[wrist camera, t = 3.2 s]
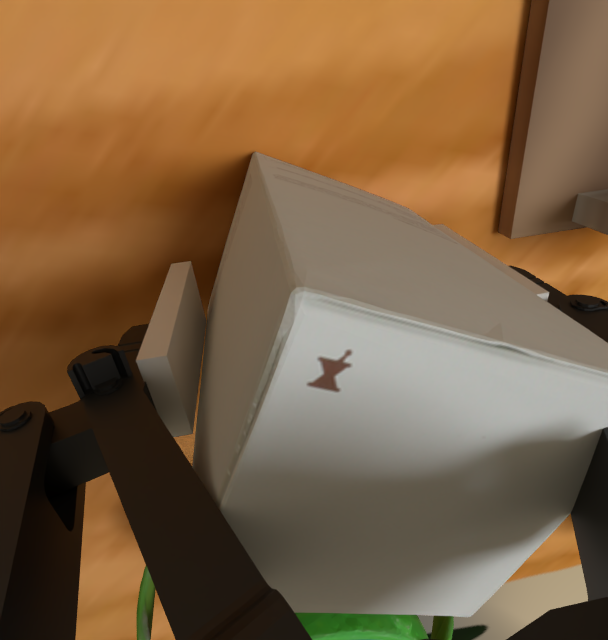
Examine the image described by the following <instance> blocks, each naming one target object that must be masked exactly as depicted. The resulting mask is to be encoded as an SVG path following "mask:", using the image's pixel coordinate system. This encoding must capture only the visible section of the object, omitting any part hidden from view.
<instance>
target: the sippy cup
mask: <svg viewBox="0 0 608 640" xmlns="http://www.w3.org/2000/svg"><path fill="white" fill-rule="evenodd" d="M154 598H155V586H154V583H153V581H152V578H151V576H150V573H149V571H148V568H147V566H146V567H145V569H144V573H143V578H142V581H141V585H140V591H139V598H138V605H137V640H150V639H151V629H152V619H153V608H154ZM295 614H296V616H297V617H298V619H299V620H300V622H301V623H302V625H303V626H304V628H305V629H306V631H307V632H308V634H309V635H310V637H311V638H312V640H422V639H428V636H427V634H426V631H425V629H424V627H423V625H422V623H421V621H420V620H419V618H418V616H417V615H396V614H349V613H295ZM453 626H454V621H453V616H434V619H433V627H432V635H431V639H436V640H451V639H452V633H453Z"/></svg>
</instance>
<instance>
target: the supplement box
mask: <svg viewBox="0 0 608 640" xmlns="http://www.w3.org/2000/svg"><path fill="white" fill-rule="evenodd" d="M606 427H608V343H607V342H605V341H604V340H603V339H601V338H600V337H598V336H597V335H595V334H594V333H592V332H591V331H590V330H588V329H587V328H585V327H584V326H582V325H581V324H579V323H578V322H576V321H575V320H573V319H572V318H570V317H569V316H567V315H566V314H564V313H563V312H561V311H560V310H558V309H557V308H555V307H554V306H553V305H551V304H550V303H548V302H547V301H545V300H544V299H542V298H541V297H539V296H537V295H536V294H534V293H533V292H531V291H530V290H528V289H527V288H525V287H524V286H522V285H521V284H519V283H518V282H516V281H515V280H513V279H512V278H510V277H509V276H507V275H506V274H504V273H503V272H501V271H500V270H498V269H497V268H495V267H494V266H493V265H491V264H490V263H488V262H487V261H485V260H484V259H482V258H481V257H479V256H478V255H476V254H475V253H473V252H472V251H470V250H469V249H467V248H466V247H464V246H463V245H461V244H460V243H458V242H457V241H455V240H454V239H452V238H451V237H449V236H448V235H446V234H445V233H443V232H442V231H440V230H439V229H437V228H436V227H434V226H433V225H432V224H430V223H429V222H427V221H426V220H425V219H423V218H422V217H420V216H419V215H417V214H416V213H415V212H413V211H412V210H410V209H409V208H406V207H404V206H402V205H399V204H397V203H394V202H392V201H389V200H387V199H384V198H382V197H379V196H376V195H374V194H371V193H368V192H366V191H363V190H361V189H358V188H355V187H353V186H350V185H347V184H345V183H342V182H339V181H336V180H333V179H331V178H328V177H325V176H322V175H319V174H316V173H314V172H311V171H308V170H305V169H303V168H300V167H297V166H294V165H292V164H289V163H286V162H283V161H281V160H278V159H275V158H272V157H269V156H266V155H264V154H261V153H258V152H254V153H253V155H252V158H251V161H250V164H249V168H248V171H247V174H246V178H245V181H244V185H243V188H242V192H241V195H240V198H239V201H238V205H237V208H236V211H235V215H234V218H233V221H232V224H231V227H230V231H229V234H228V237H227V241H226V244H225V248H224V251H223V255H222V259H221V262H220V266H219V269H218V273H217V276H216V280H215V283H214V287H213V291H212V294H211V298H210V302H209V305H208V314H207V326H206V337H205V347H204V356H203V367H202V378H201V388H200V398H199V406H198V415H197V425H196V435H195V445H194V456H193V466H192V468H193V469H194V471H195V472H196V474H197V475H198V477H199V478H200V480H201V482H202V483H203V485H204V486H205V488H206V489H207V491H208V492H209V494H210V496H211V497H212V499H213V500H214V502H215V503H216V505H217V506H218V508H219V510H220V511H221V513H222V514H223V516H224V517H225V519H226V520H227V522H228V524H229V525H230V527H231V528H232V530H233V531H234V533H235V534H236V536H237V538H238V539H239V541H240V542H241V544H242V545H243V547H244V548H245V550H246V552H247V553H248V555H249V556H250V558H251V559H252V561H253V562H254V564H255V566H256V567H257V569H258V570H259V572H260V573H261V575H262V577H263V578H264V579H265V581H266V582H267V584H268V585H269V586H270V587H271V588H273V589H277V590H278V591H279V592H280V594H281V595H282V596H283V597H284V598H285V600H286V601H287V603H288V604H289V605H290V607H291V608H292V610H293V611H294V613H349V614H396V615H431V616H432V615H433V616H460V617H470V616H472V615H473V614H474V613H475V612H476V611H477V610H478V609H479V608H480V607H481V606H482V605H483V604H484V603H485V602H486V601H487V600H488V599H489V598H490V597H492V596H493V594H494V593H495V592H496V591H497V590H498V589H499V588H500V587H501V586H502V585H503V584H504V583H505V582H506V581H507V580H508V579H509V578H510V577H511V576H512V575H513V574H514V572H515V571H516V570H517V569H518V568H519V567H520V566H521V565H522V564H523V563H524V562H525V561H526V560H527V559H528V558H529V557H530V556H531V555H532V554H533V553H534V552H535V551H536V549H537V548H538V547H539V546H540V545H541V544H542V543H543V542H544V541H545V540H546V539H547V538H548V537H549V536H550V535H551V534H552V533H553V532H554V531H555V530H556V528H557V527H558V526H559V525H560V524H561V523H562V522H563V521H564V520H565V519H566V518H567V517H568V515H569V514H570V513H571V511H572V509H573V507H574V504H575V502H576V499H577V497H578V494H579V491H580V489H581V486H582V484H583V481H584V478H585V476H586V473H587V471H588V468H589V465H590V463H591V460H592V457H593V454H594V452H595V449H596V446H597V444H598V441H599V438H600V435H601V433H602V430H603V428H606Z"/></svg>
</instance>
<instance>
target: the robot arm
mask: <svg viewBox="0 0 608 640" xmlns="http://www.w3.org/2000/svg"><path fill="white" fill-rule="evenodd" d="M433 226H434V227H436V228H437V229H439V230H440V231H442V232H443V233H445V234H446V235H448V236H449V237H451V238H452V239H454V240H455V241H457V242H458V243H460V244H461V245H463V246H464V247H466V248H467V249H469V250H470V251H472V252H473V253H475V254H476V255H478V256H479V257H481V258H482V259H484V260H485V261H487V262H488V263H490V264H491V265H493V266H494V267H495V268H497V269H498V270H500V271H501V272H503V273H504V274H506V275H507V276H509V277H510V278H512V279H513V280H515V281H516V282H518V283H519V284H521V285H522V286H524V287H525V288H527V289H528V290H530V291H531V292H533V293H534V294H536V295H537V296H539V297H541V298H542V299H544V300H545V301H547V302H548V303H550V304H551V305H553V306H554V307H555V308H557V309H558V310H560V311H561V312H563V313H564V314H566V315H567V316H569V317H570V318H572V319H573V320H575V321H576V322H578V323H579V324H581V325H582V326H584V327H585V328H587V329H588V330H590V331H591V332H592V333H594V334H595V335H597V336H598V337H600V338H601V339H603V340H604V341H605V342H607V343H608V302H607V301H605V300H603V299H600V298H597V297H593V296H587V295H569V296H566V295H565V294H563V293H562V292H560V291H558V290H557V289H555V288H553V287H552V286H550V285H549V284H547V283H544V281H542V280H540V279H539V278H536V276H534V275H532V274H531V273H529V272H527V271H526V270H523V269H520V268H517V267H514V266H507V265H506V264H504V263H503V262H501V261H499V260H498V259H496V258H495V257H493V256H492V255H490V254H489V253H487V252H485V251H484V250H482V249H481V248H479V247H478V246H476V245H474V244H473V243H471V242H470V241H468V240H467V239H465V238H463V237H462V236H460V235H459V234H457V233H456V232H454V231H452V230H451V229H449V228H448V227H446V226H445V225H443V224H438V225H433ZM205 328H206V318H205V314H204V310H203V306H202V302H201V298H200V294H199V290H198V286H197V282H196V279H195V275H194V271H193V267H192V263H191V261H187V262H181V263H174V264H171V266H170V269H169V272H168V274H167V277H166V280H165V283H164V285H163V288H162V291H161V293H160V296H159V299H158V302H157V304H156V307H155V310H154V313H153V315H152V318H151V321H150V323H149V324H145V325H139V326H133V327H131V328H130V329H129V330H128V331H127V332H126V333H125V334H124V335H123V336H122V337H121V340H120V342H119V344H118V346H112V345H109V346H101V347H97V348H94V349H91V350H88V351H86V352H84V353H82V354H80V355H79V356H77V357H76V358H75V359H73V360H72V361H71V363H70V364H69V365H68V367H67V373H68V375H69V377H70V379H71V381H72V383H73V385H74V387H75V389H76V391H77V393H78V395H79V397H80V399H81V400H80V401H78V402H76V403H74V404H71V405H69V406H66V407H63V408H61V409H58V410H55V411H52V412H50V413H49V412H48V411H47V409H46V407H45V405H43V404H42V403H40V402H26V403H21V404H18V405H15V406H12V407H9V408H7V409H5V410H4V411H2V412H0V640H75V635H76V620H77V605H78V591H79V576H80V561H81V546H82V531H83V517H84V502H85V487H86V482H88V481H90V480H92V479H94V478H97V477H99V476H101V475H104V474H106V473H108V472H110V475H111V477H112V480H113V482H114V485H115V487H116V490H117V493H118V495H119V498H120V500H121V503H122V505H123V508H124V510H125V513H126V515H127V518H128V520H129V523H130V525H131V528H132V530H133V533H134V535H135V538H136V540H137V543H138V546H139V548H140V551H141V553H142V556H143V558H144V561H145V563H146V566H147V568H148V571H149V573H150V576H151V578H152V581H153V583H154V586H155V588H156V591H157V593H158V596H159V598H160V601H161V604H162V606H163V609H164V611H165V614H166V616H167V619H168V621H169V624H170V626H171V629H172V631H173V634H174V636H175V639H176V640H312V638H311V637H310V635H309V634H308V632H307V631H306V629H305V628H304V626H303V625H302V623H301V622H300V620H299V619H298V617H297V616H296V614H295V613H294V611H293V610H292V608H291V607H290V605H289V604H288V603H287V601H286V600H285V598H284V597H283V596H282V595H281V594H280V592H279V591H278V590H277V589H273V588H271V587H270V586H269V585H268V584H267V582H266V581H265V579H264V578H263V577H262V575H261V573H260V572H259V570H258V569H257V567H256V566H255V564H254V562H253V561H252V559H251V558H250V556H249V555H248V553H247V552H246V550H245V548H244V547H243V545H242V544H241V542H240V541H239V539H238V538H237V536H236V534H235V533H234V531H233V530H232V528H231V527H230V525H229V524H228V522H227V520H226V519H225V517H224V516H223V514H222V513H221V511H220V510H219V508H218V506H217V505H216V503H215V502H214V500H213V499H212V497H211V496H210V494H209V492H208V491H207V489H206V488H205V486H204V485H203V483H202V482H201V480H200V478H199V477H198V475H197V474H196V472H195V471H194V469H193V468H192V466H191V464H190V463H189V461H188V460H187V458H186V457H185V455H184V454H183V452H182V450H181V449H180V447H179V446H178V444H177V443H176V441H175V440H174V438H173V437H177V436H183V435H188V434H193V426H194V418H195V410H196V402H197V393H198V385H199V377H200V369H201V361H202V353H203V345H204V336H205ZM571 517H572V522H573V527H574V531H575V536H576V541H577V545H578V550H579V555H580V559H581V564H582V568H583V573H584V578H585V583H586V587H587V593H588V601H587V602H583V603H578V604H574V605H569V606H565V607H561V608H556V609H552V610H549V611H548V612H546V613H545V614H543V615H542V616H541V617H539V618H538V619H536V620H535V621H533V622H532V623H530V624H529V625H527V626H526V627H524V628H523V629H521V630H520V631H518V632H517V633H515V634H514V635H513V636H511V637H509V638H508V639H507V640H608V427H606V428H603V430H602V433H601V435H600V438H599V441H598V444H597V446H596V449H595V452H594V454H593V457H592V460H591V463H590V465H589V468H588V471H587V473H586V476H585V478H584V481H583V484H582V486H581V489H580V491H579V494H578V497H577V499H576V502H575V504H574V507H573V509H572V511H571ZM422 640H436V639H422Z"/></svg>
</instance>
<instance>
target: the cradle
mask: <svg viewBox="0 0 608 640" xmlns="http://www.w3.org/2000/svg"><path fill="white" fill-rule="evenodd" d="M585 227H588V228H591V229H594V230H596V231H599V232H602V233H604V234H607V235H608V0H532V1H531V8H530V15H529V22H528V28H527V35H526V42H525V49H524V56H523V63H522V70H521V77H520V84H519V91H518V97H517V104H516V111H515V118H514V125H513V132H512V139H511V146H510V153H509V160H508V166H507V173H506V180H505V187H504V194H503V201H502V208H501V215H500V222H499V229H498V232H499V233H501V234H502V235H504V236H506V237H508V238H510V239H513V238H520V237H526V236H533V235H539V234H546V233H552V232H559V231H565V230H572V229H578V228H585Z"/></svg>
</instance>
